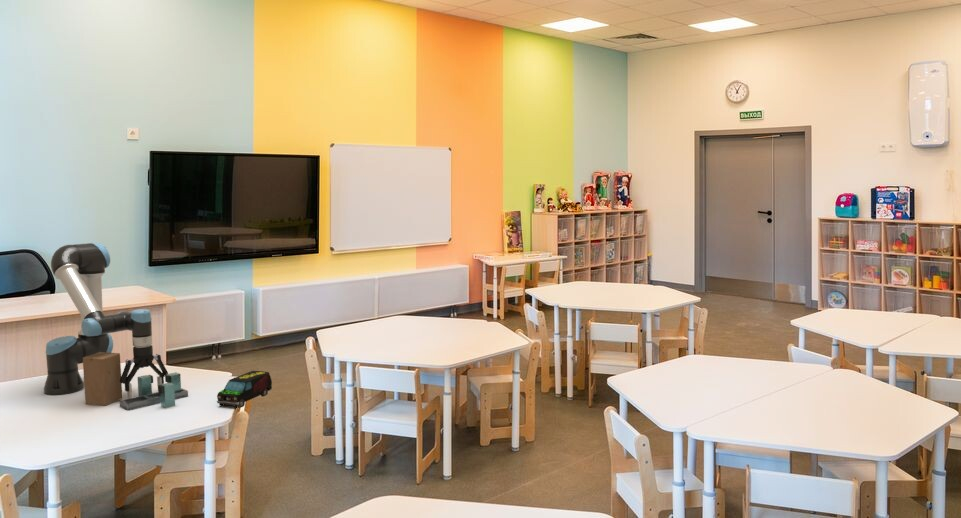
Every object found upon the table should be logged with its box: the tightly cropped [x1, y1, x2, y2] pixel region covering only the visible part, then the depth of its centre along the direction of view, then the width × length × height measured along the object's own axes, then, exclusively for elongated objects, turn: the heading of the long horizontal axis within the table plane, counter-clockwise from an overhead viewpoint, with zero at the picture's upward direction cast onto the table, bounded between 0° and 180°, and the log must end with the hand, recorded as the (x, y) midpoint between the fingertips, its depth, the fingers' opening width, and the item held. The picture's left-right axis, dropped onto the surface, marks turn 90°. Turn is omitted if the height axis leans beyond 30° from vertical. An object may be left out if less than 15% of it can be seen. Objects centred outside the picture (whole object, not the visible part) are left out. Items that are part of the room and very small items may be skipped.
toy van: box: [216, 370, 273, 409], centre depth 292 cm, size 11×25×10 cm, turn 162°
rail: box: [119, 372, 189, 411], centre depth 289 cm, size 8×25×10 cm, turn 140°
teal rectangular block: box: [137, 374, 154, 397], centre depth 295 cm, size 4×5×9 cm
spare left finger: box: [157, 382, 176, 409], centre depth 283 cm, size 4×5×9 cm
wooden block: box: [82, 352, 123, 406], centre depth 288 cm, size 10×10×20 cm
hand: (145, 394), depth 295 cm, fingers open, 12 cm apart
